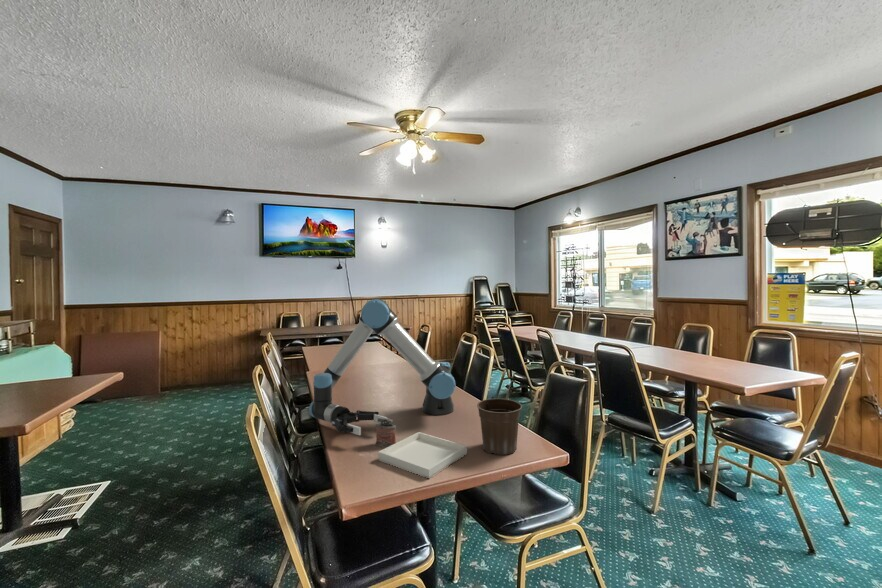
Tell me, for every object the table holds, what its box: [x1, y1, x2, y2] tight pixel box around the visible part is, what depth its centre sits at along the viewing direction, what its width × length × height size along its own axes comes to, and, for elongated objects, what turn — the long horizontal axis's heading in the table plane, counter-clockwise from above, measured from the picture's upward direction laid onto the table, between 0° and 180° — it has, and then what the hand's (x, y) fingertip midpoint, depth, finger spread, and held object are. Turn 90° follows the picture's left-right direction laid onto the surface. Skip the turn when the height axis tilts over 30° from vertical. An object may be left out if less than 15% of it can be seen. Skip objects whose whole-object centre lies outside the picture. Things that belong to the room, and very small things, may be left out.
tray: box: [377, 431, 468, 479], centre depth 134 cm, size 22×22×3 cm
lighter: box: [375, 417, 397, 448], centre depth 145 cm, size 8×3×10 cm, turn 71°
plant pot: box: [476, 398, 523, 456], centre depth 141 cm, size 16×16×16 cm
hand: (373, 426), depth 148 cm, fingers open, 13 cm apart
